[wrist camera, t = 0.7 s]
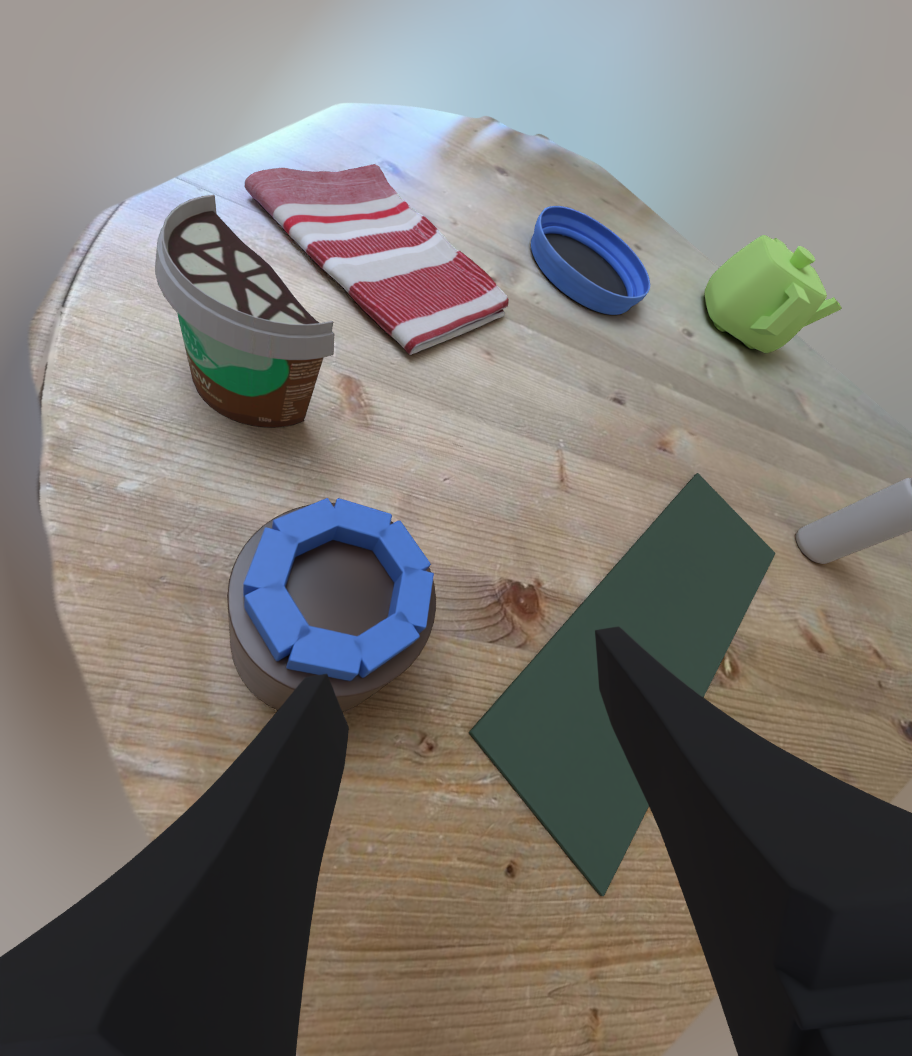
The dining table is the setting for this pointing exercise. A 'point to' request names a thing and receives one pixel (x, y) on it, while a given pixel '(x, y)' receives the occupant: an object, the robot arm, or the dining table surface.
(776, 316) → the teapot
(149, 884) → the robot arm
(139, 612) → the dining table surface
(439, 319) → the dish towel
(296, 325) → the food container
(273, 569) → the ring
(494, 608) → the dining table surface
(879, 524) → the beverage can
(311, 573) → the platform
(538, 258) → the bowl
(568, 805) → the mat
